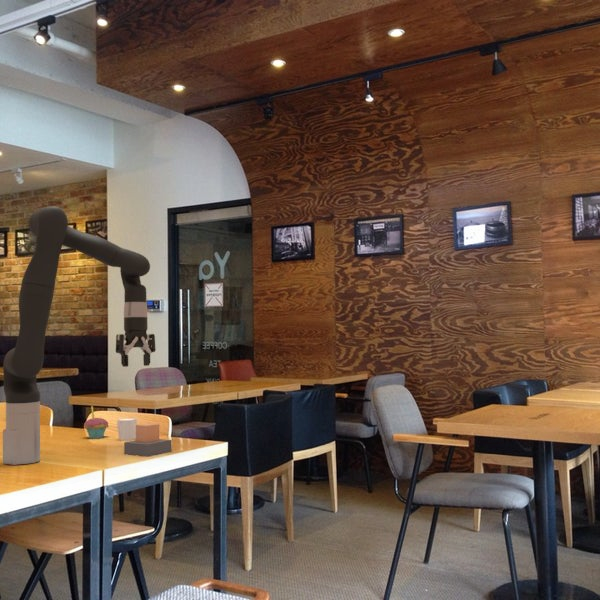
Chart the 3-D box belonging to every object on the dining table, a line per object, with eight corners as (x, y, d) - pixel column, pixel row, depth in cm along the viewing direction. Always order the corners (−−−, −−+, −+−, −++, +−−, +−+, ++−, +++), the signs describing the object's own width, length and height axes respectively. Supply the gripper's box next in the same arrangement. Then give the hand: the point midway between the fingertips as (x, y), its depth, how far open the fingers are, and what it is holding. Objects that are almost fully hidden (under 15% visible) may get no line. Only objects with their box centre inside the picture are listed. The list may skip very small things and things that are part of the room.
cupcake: (95, 439, 243) (95, 405, 244) (78, 438, 247) (78, 404, 248) (113, 436, 251) (113, 403, 251) (96, 435, 255) (96, 402, 255)
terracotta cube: (146, 442, 208) (145, 425, 208) (135, 441, 211) (135, 424, 211) (159, 440, 212) (159, 424, 212) (149, 439, 215) (149, 423, 215)
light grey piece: (132, 440, 239) (131, 420, 239) (113, 440, 240) (113, 420, 240) (140, 437, 245) (140, 418, 246) (122, 437, 247) (122, 418, 247)
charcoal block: (147, 458, 204) (147, 444, 204) (124, 455, 209) (124, 442, 210) (171, 453, 212) (171, 439, 213) (148, 450, 218) (148, 438, 218)
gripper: (125, 315, 218) (125, 367, 217) (160, 316, 229) (160, 365, 228) (110, 316, 223) (110, 367, 222) (145, 317, 234) (146, 365, 233)
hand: (136, 366), depth 225 cm, fingers open, 8 cm apart
